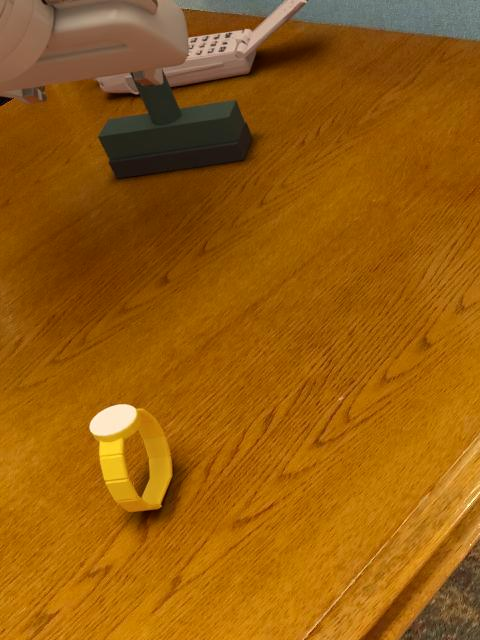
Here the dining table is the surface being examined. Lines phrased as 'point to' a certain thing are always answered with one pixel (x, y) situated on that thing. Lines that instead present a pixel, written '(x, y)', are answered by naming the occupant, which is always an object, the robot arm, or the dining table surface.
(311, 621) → the dining table surface
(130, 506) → the watch
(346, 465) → the dining table surface
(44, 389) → the dining table surface
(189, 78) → the mobile phone
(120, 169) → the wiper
